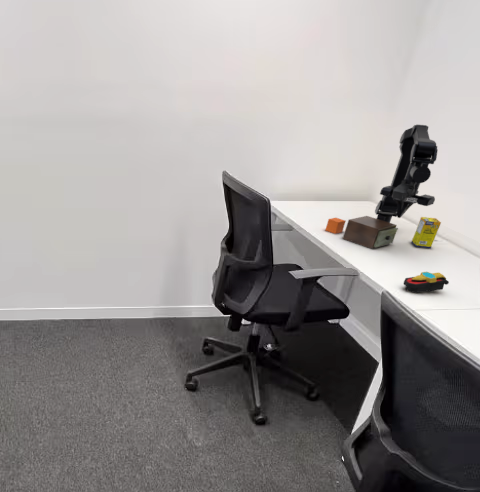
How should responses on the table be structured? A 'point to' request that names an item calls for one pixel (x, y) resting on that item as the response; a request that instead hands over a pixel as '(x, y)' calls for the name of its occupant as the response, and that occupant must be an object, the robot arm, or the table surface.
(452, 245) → the table surface
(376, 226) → the cabinet
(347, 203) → the table surface
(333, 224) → the orange cube
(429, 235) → the supplement box
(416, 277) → the gadget
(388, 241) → the drawer
